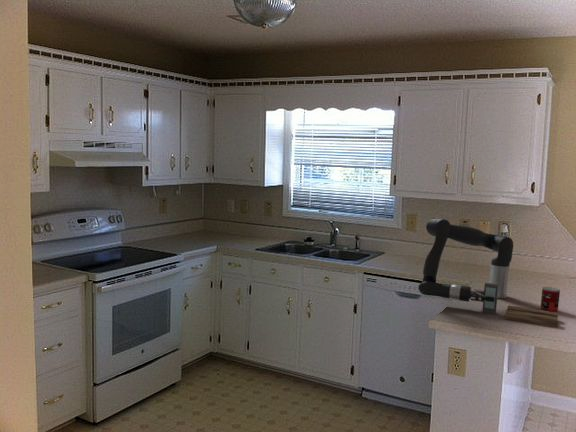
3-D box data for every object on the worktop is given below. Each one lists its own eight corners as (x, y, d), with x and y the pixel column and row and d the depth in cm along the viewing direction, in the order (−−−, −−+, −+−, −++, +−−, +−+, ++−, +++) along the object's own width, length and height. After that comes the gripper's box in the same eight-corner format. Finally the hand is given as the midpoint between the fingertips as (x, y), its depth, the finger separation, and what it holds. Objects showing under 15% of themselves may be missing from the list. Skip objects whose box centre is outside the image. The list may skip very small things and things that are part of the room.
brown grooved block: (507, 312, 279) (508, 305, 279) (557, 320, 270) (558, 312, 269) (505, 319, 268) (505, 311, 267) (556, 327, 258) (557, 319, 258)
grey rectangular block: (483, 310, 281) (485, 282, 279) (496, 312, 278) (498, 284, 277) (482, 312, 278) (484, 283, 276) (495, 314, 275) (497, 285, 274)
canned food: (537, 307, 292) (540, 286, 290) (553, 308, 291) (555, 287, 290) (544, 311, 284) (546, 290, 283) (560, 312, 284) (562, 290, 282)
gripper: (458, 288, 277) (494, 293, 270) (463, 282, 290) (497, 287, 282) (456, 303, 278) (492, 308, 270) (461, 297, 290) (496, 302, 283)
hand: (495, 297), depth 276 cm, fingers open, 7 cm apart
